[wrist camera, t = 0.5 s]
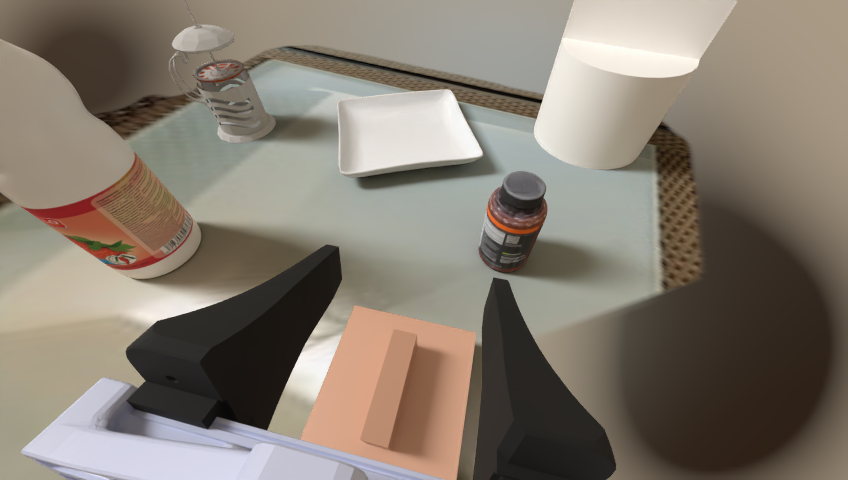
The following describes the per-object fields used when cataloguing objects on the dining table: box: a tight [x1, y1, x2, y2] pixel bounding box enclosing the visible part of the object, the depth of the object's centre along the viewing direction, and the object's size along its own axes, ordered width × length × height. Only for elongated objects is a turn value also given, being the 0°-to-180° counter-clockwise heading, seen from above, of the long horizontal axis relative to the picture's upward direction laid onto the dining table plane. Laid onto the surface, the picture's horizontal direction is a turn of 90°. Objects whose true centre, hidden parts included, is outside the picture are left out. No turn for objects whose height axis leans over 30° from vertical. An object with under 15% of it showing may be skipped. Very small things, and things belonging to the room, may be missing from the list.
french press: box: [169, 0, 276, 143], centre depth 45 cm, size 10×12×25 cm
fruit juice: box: [0, 39, 201, 279], centre depth 27 cm, size 9×9×28 cm
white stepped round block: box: [534, 0, 738, 170], centre depth 42 cm, size 17×17×28 cm
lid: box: [300, 306, 476, 480], centre depth 25 cm, size 13×12×4 cm
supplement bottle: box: [479, 171, 547, 272], centre depth 34 cm, size 6×6×11 cm
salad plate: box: [337, 89, 483, 177], centre depth 51 cm, size 21×21×3 cm
